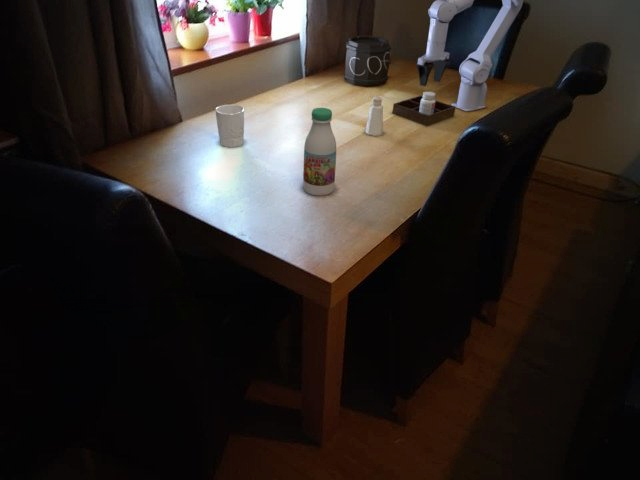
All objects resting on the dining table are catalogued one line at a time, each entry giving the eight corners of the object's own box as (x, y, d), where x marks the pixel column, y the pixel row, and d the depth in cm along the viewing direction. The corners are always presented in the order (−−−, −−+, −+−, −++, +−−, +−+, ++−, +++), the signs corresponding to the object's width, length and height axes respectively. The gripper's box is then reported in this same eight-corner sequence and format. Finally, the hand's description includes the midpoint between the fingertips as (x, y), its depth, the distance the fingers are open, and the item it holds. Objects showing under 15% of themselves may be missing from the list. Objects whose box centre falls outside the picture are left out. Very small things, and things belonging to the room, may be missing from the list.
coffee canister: (391, 89, 195) (396, 46, 186) (344, 87, 195) (347, 44, 186) (386, 75, 210) (391, 35, 201) (343, 73, 210) (346, 33, 201)
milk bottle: (302, 181, 128) (303, 104, 117) (332, 181, 129) (337, 104, 117) (304, 196, 122) (305, 116, 110) (335, 196, 122) (340, 116, 111)
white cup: (250, 140, 149) (248, 106, 143) (237, 150, 142) (236, 115, 137) (226, 135, 151) (223, 102, 145) (213, 145, 144) (210, 111, 139)
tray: (419, 104, 181) (420, 95, 179) (453, 116, 172) (455, 106, 170) (392, 113, 172) (393, 103, 170) (427, 126, 164) (428, 116, 162)
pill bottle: (432, 121, 165) (436, 96, 161) (417, 120, 166) (421, 94, 161) (432, 116, 169) (436, 91, 165) (418, 115, 170) (422, 90, 165)
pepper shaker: (372, 128, 160) (376, 93, 154) (386, 133, 157) (390, 98, 151) (361, 132, 157) (364, 97, 151) (374, 137, 154) (378, 102, 148)
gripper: (433, 46, 157) (426, 90, 164) (459, 40, 165) (452, 82, 173) (415, 42, 161) (409, 84, 169) (442, 36, 169) (435, 77, 177)
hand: (429, 83), depth 171 cm, fingers open, 7 cm apart
